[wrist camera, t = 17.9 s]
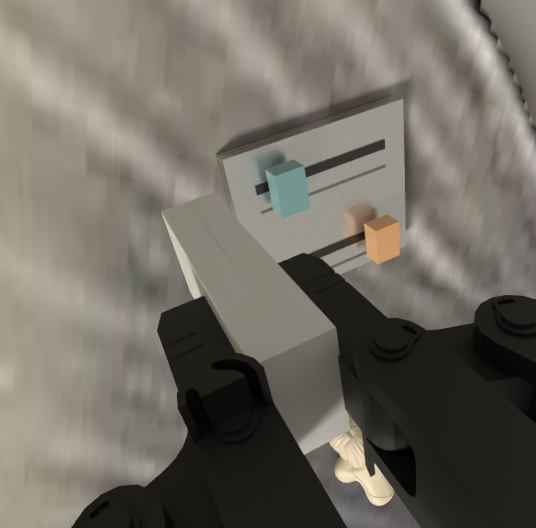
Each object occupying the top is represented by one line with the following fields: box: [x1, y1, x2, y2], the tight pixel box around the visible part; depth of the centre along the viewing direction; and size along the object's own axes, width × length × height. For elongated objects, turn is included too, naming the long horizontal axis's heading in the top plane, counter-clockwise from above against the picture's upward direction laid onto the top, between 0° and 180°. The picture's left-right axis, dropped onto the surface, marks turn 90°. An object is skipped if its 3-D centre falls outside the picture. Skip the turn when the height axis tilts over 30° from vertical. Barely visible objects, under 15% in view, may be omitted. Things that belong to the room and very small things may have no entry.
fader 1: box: [265, 159, 310, 219], centre depth 43 cm, size 3×4×3 cm
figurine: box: [329, 413, 394, 506], centre depth 71 cm, size 14×9×20 cm
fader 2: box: [364, 214, 400, 264], centre depth 51 cm, size 3×4×3 cm
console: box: [216, 96, 406, 275], centre depth 49 cm, size 20×18×2 cm
